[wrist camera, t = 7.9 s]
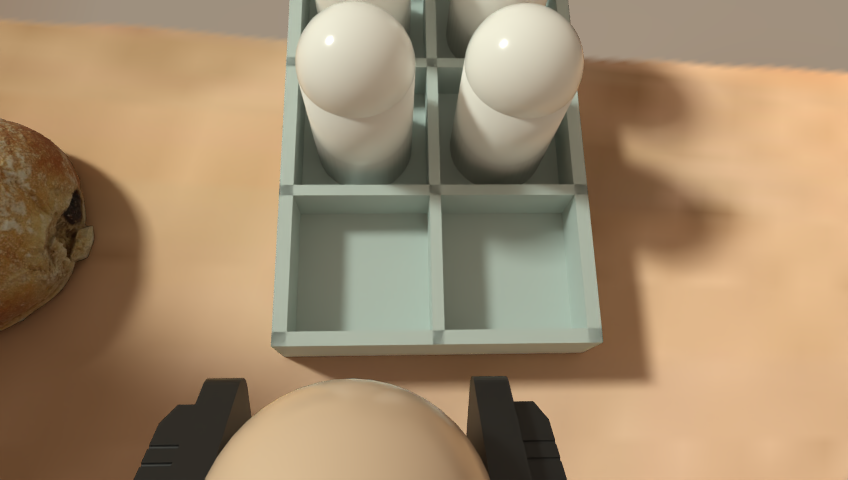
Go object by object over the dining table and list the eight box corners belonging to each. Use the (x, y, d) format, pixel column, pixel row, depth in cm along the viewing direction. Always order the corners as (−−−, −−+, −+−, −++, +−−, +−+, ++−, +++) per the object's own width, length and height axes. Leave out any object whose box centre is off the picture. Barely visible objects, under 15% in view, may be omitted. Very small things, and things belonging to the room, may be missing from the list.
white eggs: (316, 190, 31) (283, 85, 22) (323, -3, 34) (296, -165, 25) (545, 190, 31) (605, 86, 22) (529, -1, 35) (576, -159, 26)
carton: (284, 356, 29) (270, 346, 26) (301, -14, 35) (292, -57, 32) (582, 352, 30) (603, 342, 27) (548, -11, 36) (562, -53, 33)
